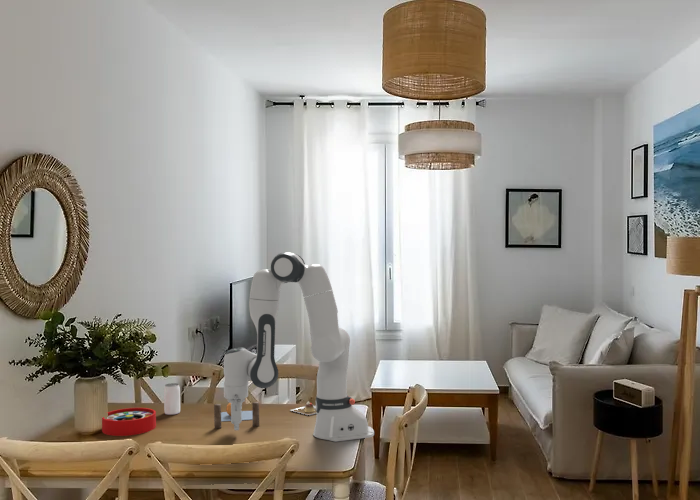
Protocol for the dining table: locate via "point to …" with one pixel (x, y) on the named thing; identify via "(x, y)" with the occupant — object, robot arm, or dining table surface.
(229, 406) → the ball
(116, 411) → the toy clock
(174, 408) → the can
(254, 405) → the right post
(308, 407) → the dessert
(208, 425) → the dining table surface
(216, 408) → the left post
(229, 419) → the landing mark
